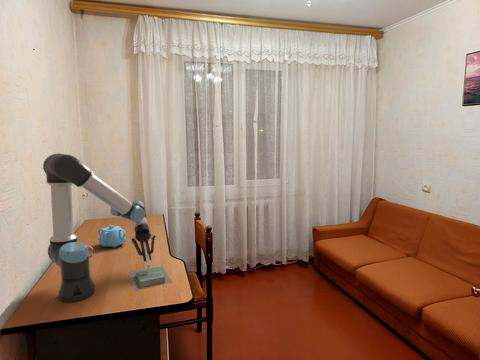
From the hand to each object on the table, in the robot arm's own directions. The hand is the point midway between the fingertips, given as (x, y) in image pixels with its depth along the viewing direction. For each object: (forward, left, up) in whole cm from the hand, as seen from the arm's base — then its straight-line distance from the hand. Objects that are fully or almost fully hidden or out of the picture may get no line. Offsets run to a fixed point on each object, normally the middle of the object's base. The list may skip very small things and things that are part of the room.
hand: (148, 266), depth 163 cm
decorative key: (+9, +58, -6) cm, 59 cm away
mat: (-1, -1, -6) cm, 6 cm away
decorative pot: (+35, +52, -6) cm, 63 cm away
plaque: (+3, +3, -4) cm, 6 cm away
